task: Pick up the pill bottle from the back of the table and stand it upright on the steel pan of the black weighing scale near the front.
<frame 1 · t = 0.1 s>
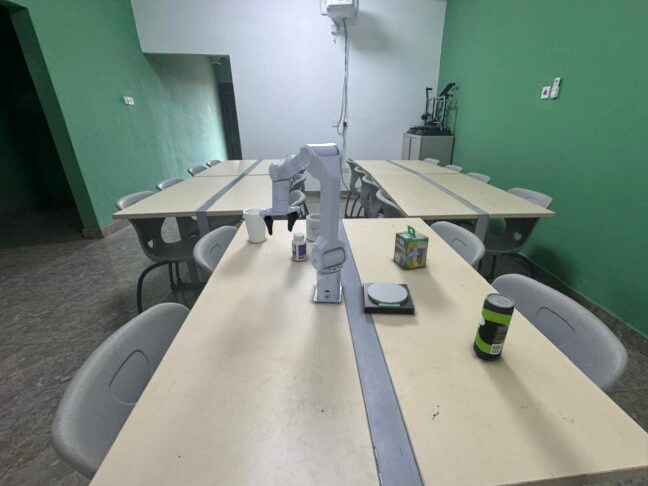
hand: (280, 232, 116), 10 cm above the table, tool pointing down, fingers open, 7 cm apart
pill bottle: (299, 258, 122), on the table
beverage can: (485, 353, 76), on the table
scale: (386, 300, 96), on the table
foam cup: (257, 240, 137), on the table
chalk box: (408, 263, 121), on the table
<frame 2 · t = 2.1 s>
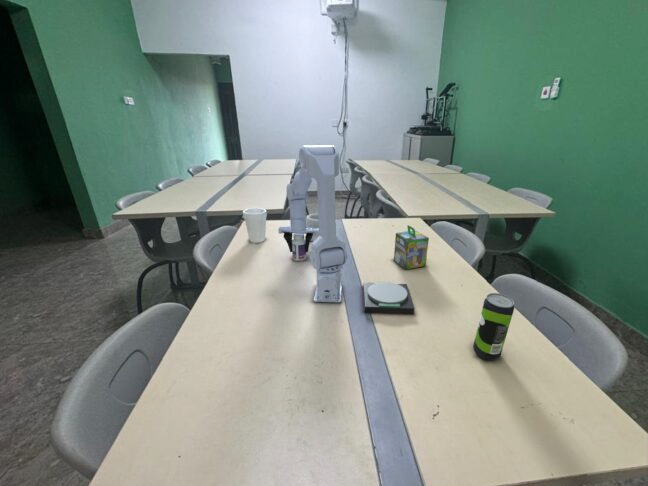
hand: (299, 251, 120), 3 cm above the table, tool pointing down, fingers closed on pill bottle, 5 cm apart
pill bottle: (299, 258, 122), on the table, touching gripper
everything else where it was.
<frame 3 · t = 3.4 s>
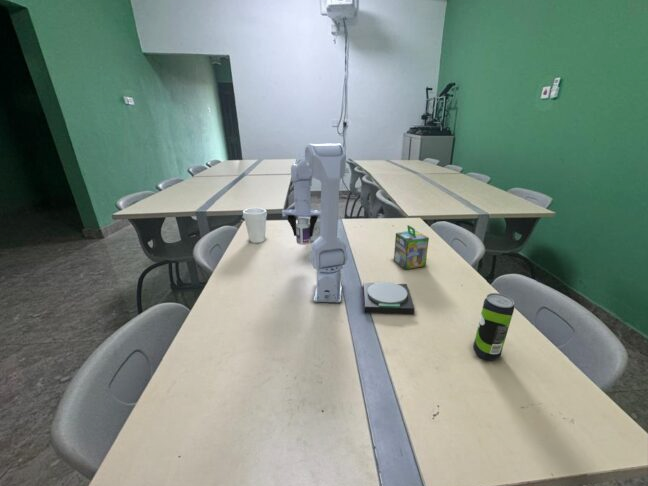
hand: (303, 235, 117), 10 cm above the table, tool pointing down, fingers closed on pill bottle, 5 cm apart
pill bottle: (303, 243, 118), point 7 cm above the table, touching gripper
everything else where it was.
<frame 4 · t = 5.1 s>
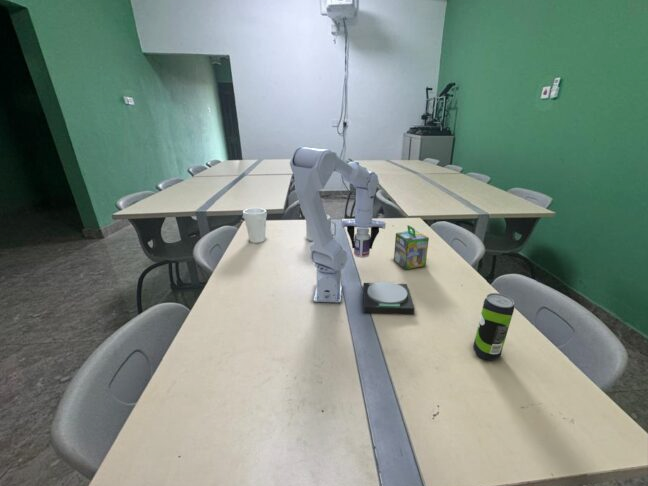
hand: (362, 247, 108), 10 cm above the table, tool pointing down, fingers closed on pill bottle, 5 cm apart
pill bottle: (361, 255, 109), point 7 cm above the table, touching gripper
everything else where it was.
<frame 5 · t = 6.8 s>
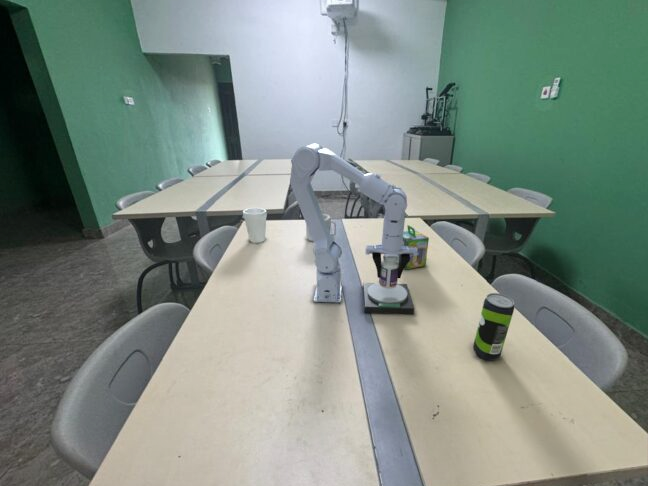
hand: (388, 276, 93), 8 cm above the table, tool pointing down, fingers closed on pill bottle, 5 cm apart
pill bottle: (387, 285, 95), point 5 cm above the table, touching gripper
everything else where it was.
when the fingers open (6 cm above the table, at t = 8.1 s): pill bottle stays where it is, resting on scale.
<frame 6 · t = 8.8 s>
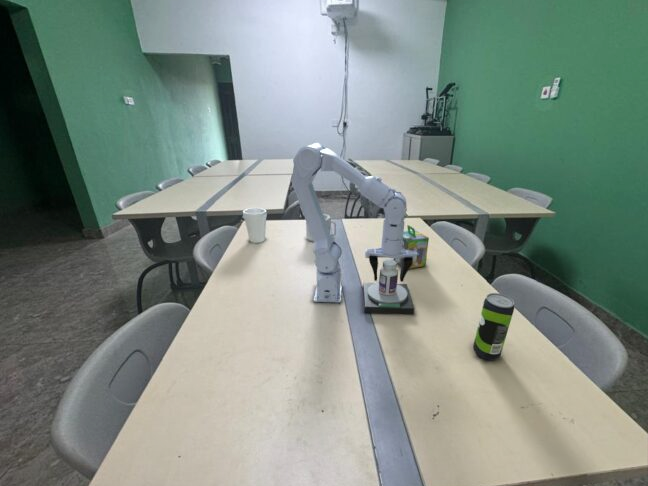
hand: (388, 279, 94), 7 cm above the table, tool pointing down, fingers open, 7 cm apart
pill bottle: (387, 291, 96), point 3 cm above the table, touching scale
everything else where it was.
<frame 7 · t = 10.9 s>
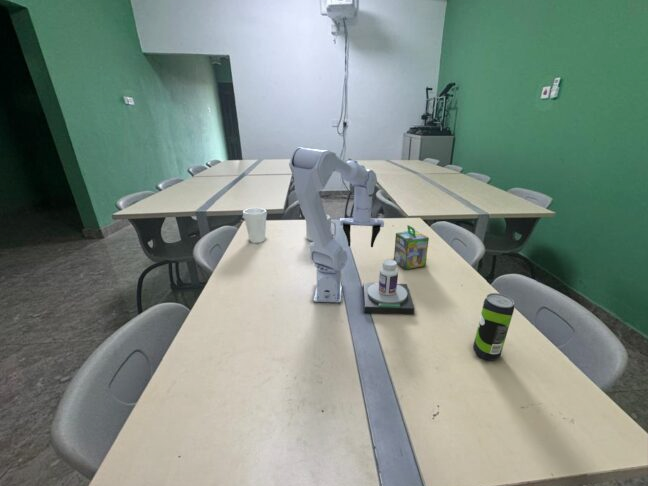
hand: (360, 245, 108), 10 cm above the table, tool pointing down, fingers open, 7 cm apart
nothing on the table moved.
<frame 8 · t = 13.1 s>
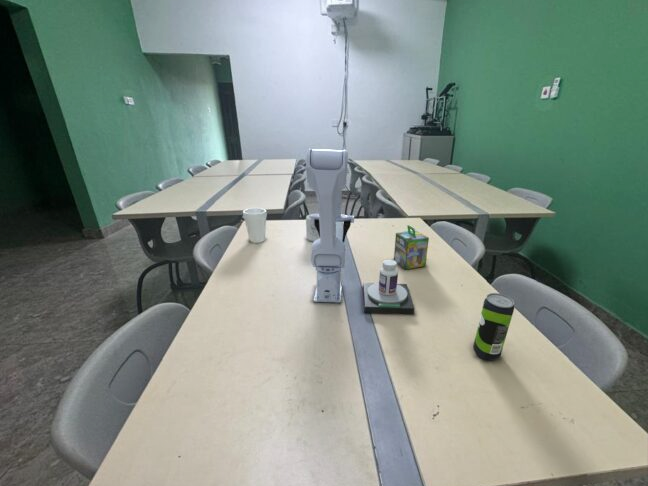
hand: (332, 241, 111), 10 cm above the table, tool pointing down, fingers open, 7 cm apart
nothing on the table moved.
at the end: pill bottle inside the target area on the scale (0.1 cm from its centre), point 2.6 cm above the scale's base; pill bottle tilted 0°; the gripper is holding nothing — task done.
